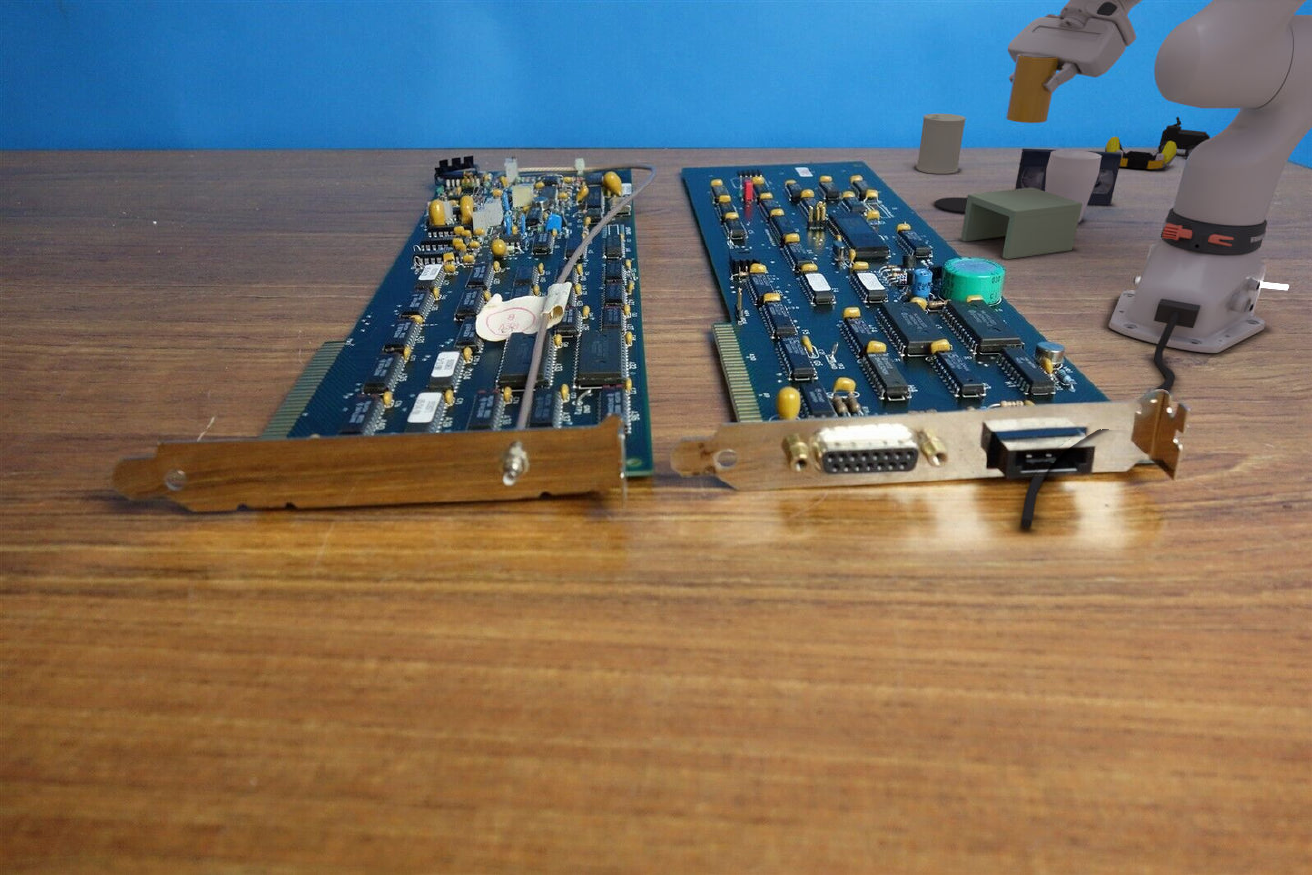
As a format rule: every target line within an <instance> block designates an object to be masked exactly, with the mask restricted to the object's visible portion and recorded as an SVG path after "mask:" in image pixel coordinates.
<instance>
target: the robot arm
mask: <svg viewBox="0 0 1312 875" xmlns="http://www.w3.org/2000/svg"><path fill="white" fill-rule="evenodd" d="M1142 1H1143V0H1069V1H1067V3H1066V4H1065V5H1064V6H1063V7H1062V8H1061V9H1060V13H1059V14H1058V15H1057V14H1054V13H1048V14H1046V15H1045V16H1040V17H1038V18H1036V19H1034V20H1032V21H1031V22H1030V23H1029V24H1028V25H1027V26H1025V27H1024V28H1023V29H1022V30H1021V31H1020V32H1019V33H1018V34H1017V35H1016V36H1015V37H1014V38H1013V39H1012V40H1011V41H1010V42H1009V43H1008V46H1007V52H1008V54H1009V56H1010V58H1011V59H1012V61H1013V62H1014V63H1015V64H1016V59H1017V55H1018V54H1023V53H1038V54H1044V55H1050V56H1056V57H1058V60H1059V62H1058V67H1057V72H1056V74H1055V75H1054V76H1053V77H1052V76H1049V77H1048V78H1047V79H1046V81H1044V82H1043V84H1042V86H1043V88H1044V90H1045V91H1048V92H1052V93H1054V92H1055V91H1056V90H1057V89H1058V88H1059V87H1060V86H1061V85H1064V84H1065V83H1067V82H1069V81H1070V80H1072V79H1074V77H1075V76H1077V75H1079V76H1085V77H1090V78H1099V77H1101V76H1102V75H1105V74H1106V73H1107V72H1108V71H1109V70H1111V69H1112V67H1113V66H1114V65H1115V64H1116V63H1117V62H1118V60H1119V59H1121V57H1122V56H1123V54H1124V53H1125V51H1126V48H1127V47H1129V46H1131V45H1132V44H1133V43H1134V42H1135V41H1136V40H1137V34H1136V32H1135V28H1134V26H1133V25H1132V22H1131V20H1130V18H1129V16H1128V15H1129V13H1130V11H1132V9H1133V8H1134V7H1136V6H1137V5H1138V4H1140V3H1141V2H1142ZM1306 2H1307V0H1212V1H1210V2H1209V3H1208V4H1207V5H1206V6H1204V7H1203V8H1202V9H1201V10H1199V11H1198V12H1197V13H1195V14H1194V15H1193V16H1190V17H1189V18H1188V19H1186V20H1183V21H1182V22H1180V23H1179V24H1177V25H1176V26H1174V28H1173V29H1172V30H1171V31H1170V32H1169V33H1168V35H1166V37H1165V38H1164V40H1163V41H1162V43H1161V45H1160V47H1159V48H1158V50H1157V52H1156V53H1157V54H1156V56H1155V61H1154V66H1153V67H1154V68H1153V69H1154V70H1153V71H1154V72H1153V75H1154V81H1155V84H1156V87H1157V89H1158V92H1159V93H1160V95H1161V96H1162V97H1163V98H1164V99H1165V100H1166V101H1168V102H1170V103H1171V102H1172V103H1176V104H1179V105H1184V106H1188V107H1193V108H1198V109H1239V110H1238V113H1236V116H1235V117H1234V118H1233V120H1232V121H1231V122H1230V123H1229V124H1228V125H1227V126H1226V127H1225V128H1224V129H1223V130H1222V131H1221V132H1219V133H1218V134H1216V135H1214V136H1211V137H1210V139H1208V140H1206V141H1204V142H1202V143H1200V144H1199V145H1198V146H1196V147H1195V148H1194V149H1193V151H1192V152H1191V153H1190V155H1189V156H1188V158H1187V157H1186V160H1185V164H1184V167H1183V171H1182V174H1181V178H1180V181H1179V186H1178V189H1177V192H1176V196H1175V200H1174V204H1173V207H1172V208H1170V209H1169V211H1168V214H1167V216H1166V217H1165V219H1164V221H1163V222H1164V223H1163V228H1162V231H1161V233H1160V239H1159V240H1157V241H1156V242H1154V243H1153V244H1150V246H1149V250H1148V254H1147V258H1146V261H1145V266H1144V268H1143V270H1142V274H1141V275H1136V276H1135V277H1133V282H1132V283H1133V286H1136V289H1133V290H1132V289H1131V290H1130V289H1129V290H1123V291H1121V293H1120V296H1119V298H1118V301H1117V303H1116V306H1115V308H1114V310H1113V312H1112V315H1111V318H1110V320H1109V322H1108V328H1109V329H1111V330H1112V331H1115V332H1117V333H1119V334H1121V335H1124V336H1128V337H1131V338H1133V339H1137V340H1141V341H1144V342H1148V343H1151V344H1156V347H1155V350H1154V354H1153V363H1154V365H1155V366H1156V368H1157V369H1158V371H1159V372H1160V373H1161V374H1162V375H1163V376H1164V377H1165V380H1164V381H1163V383H1162V384H1160V385H1159V386H1158V387H1156V388H1155V389H1164V390H1167V391H1169V390H1170V389H1171V388H1172V387H1173V385H1174V383H1175V379H1176V375H1175V373H1174V371H1173V370H1172V369H1170V367H1168V366H1166V365H1165V363H1164V361H1163V355H1164V351H1165V348H1166V347H1168V348H1172V349H1173V348H1174V349H1178V350H1182V351H1190V352H1196V353H1207V354H1218V353H1221V352H1223V351H1225V350H1227V349H1229V348H1231V347H1233V346H1235V345H1236V344H1239V343H1241V342H1242V341H1245V340H1246V339H1248V338H1250V337H1252V336H1254V335H1255V334H1258V333H1259V332H1262V331H1264V329H1265V325H1266V321H1265V319H1262V318H1261V317H1258V316H1257V315H1255V311H1256V307H1257V304H1258V300H1259V297H1260V293H1261V291H1262V290H1261V289H1262V288H1263V289H1272V290H1283V291H1288V289H1289V287H1290V285H1289V284H1285V283H1283V284H1282V283H1274V282H1264V279H1265V275H1266V272H1267V266H1266V265H1265V263H1264V262H1263V260H1262V259H1261V257H1260V255H1259V252H1258V250H1259V249H1260V248H1261V247H1262V244H1263V240H1264V238H1265V236H1266V233H1267V230H1266V229H1267V225H1268V220H1267V219H1266V218H1267V214H1268V212H1269V208H1270V205H1271V203H1272V200H1273V197H1274V194H1275V191H1276V188H1277V186H1278V183H1279V180H1280V178H1281V175H1282V173H1283V170H1284V168H1285V166H1286V164H1287V163H1288V161H1289V159H1290V157H1291V155H1292V154H1293V152H1294V150H1295V149H1296V148H1297V146H1298V145H1299V143H1301V141H1302V140H1303V138H1304V137H1305V136H1306V134H1308V133H1309V131H1310V130H1311V129H1312V14H1296V13H1297V11H1299V9H1300V8H1301V7H1302V6H1303V5H1304V3H1306ZM1013 76H1014V71H1013V72H1012V73H1011V74H1010V75H1009V77H1008V80H1009V82H1010V84H1012V81H1013ZM1048 472H1049V471H1048ZM1048 472H1045V473H1044V474H1043V476H1038V477H1035V475H1036V472H1035V473H1034V475H1033V477H1032V479H1031V481H1030V483H1029V485H1028V488H1027V491H1026V495H1025V499H1024V504H1023V509H1022V515H1021V520H1020V525H1021V527H1023V528H1026V529H1027V528H1031V527H1032V524H1033V519H1034V512H1035V506H1036V501H1037V500H1036V499H1037V497H1038V493H1039V490H1040V488H1041V485H1042V483H1043V481H1044V479H1045V477H1046V476H1047V474H1048Z"/></svg>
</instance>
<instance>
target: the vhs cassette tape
mask: <svg viewBox="0 0 1312 875" xmlns="http://www.w3.org/2000/svg"><path fill="white" fill-rule="evenodd" d="M1055 150H1056V149H1052V148H1051V149H1047V148H1022V149H1021V154H1020V160H1019V166H1018V171H1017V176H1016V182H1015V188H1014V189H1022V188H1031V187H1032V188H1035V189H1039V190H1042V191H1045V185H1046V169H1047V165H1048V162H1049V158H1050V154H1051V152H1052V151H1055ZM1087 151H1088V152H1093V153H1097V154H1099V155H1101V162H1100V169H1099V174H1098V177H1097V180H1096V182H1095V185H1094V188H1093V190H1092V193H1091V196H1090V198H1089V201H1088V204H1087V206H1088V205H1090V206H1091V205H1092V206H1093V205H1094V206H1110V205H1112V200H1113V196H1114V191H1115V186H1116V182H1117V178H1118V174H1119V171H1120V170H1119V169H1120V167H1119V165H1120V162H1121V157H1122V155H1121V153H1119V152H1116V153H1115V152H1105V151H1101V150H1100V151H1098V150H1097V151H1095V150H1094V151H1093V150H1087Z"/></svg>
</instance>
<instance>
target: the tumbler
mask: <svg viewBox="0 0 1312 875" xmlns="http://www.w3.org/2000/svg"><path fill="white" fill-rule="evenodd" d="M1058 62H1059V60H1058V57H1056V56H1050V55H1044V54H1038V53H1023V54H1018V55H1017V59H1016V63H1015V65H1014V71H1013V72H1014V76H1013V81H1012V83H1011V87H1010V93H1009V98H1008V105H1007V111H1006V116H1005V119H1006V120H1007V121H1011V122H1016V123H1024V124H1025V123H1026V124H1040V123H1041V124H1042V123H1045V122H1047V121H1048V116H1049V111H1050V107H1051V101H1052V96H1053V92H1048V91H1045V90H1044V88H1043V86H1042V84H1043V82H1044V81H1046V79H1047V78H1048V77H1049V76H1052V77H1053V76H1054V75H1055V74H1057V73H1058V71H1057V67H1058Z"/></svg>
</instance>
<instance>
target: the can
mask: <svg viewBox="0 0 1312 875" xmlns="http://www.w3.org/2000/svg"><path fill="white" fill-rule="evenodd" d="M966 120H967V118H966V117H965V116H963V115H959V114H951V113H928V114H924V115H923V119H922V129H921V135H920V145H919V152H918V158H917V164H916V170H917V171H919V172H923V173H926V174H927V173H928V174H933V175H934V174H935V175H949V174H950V175H951V174H955V173H958V172H959V161H960V155H961V147H962V142H963V135H964V129H965V123H966Z"/></svg>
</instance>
